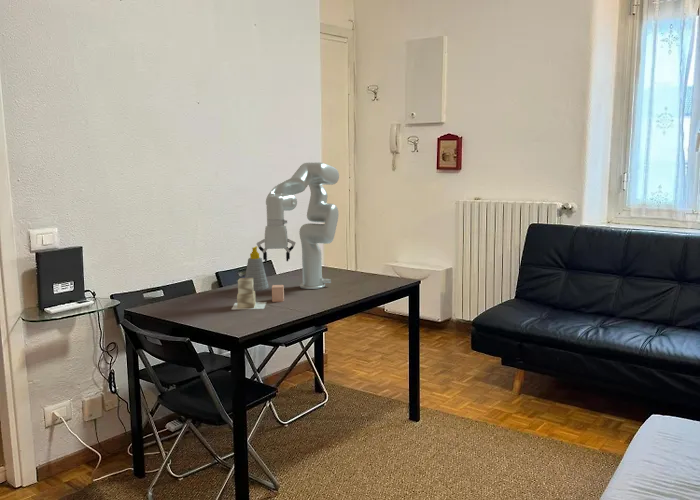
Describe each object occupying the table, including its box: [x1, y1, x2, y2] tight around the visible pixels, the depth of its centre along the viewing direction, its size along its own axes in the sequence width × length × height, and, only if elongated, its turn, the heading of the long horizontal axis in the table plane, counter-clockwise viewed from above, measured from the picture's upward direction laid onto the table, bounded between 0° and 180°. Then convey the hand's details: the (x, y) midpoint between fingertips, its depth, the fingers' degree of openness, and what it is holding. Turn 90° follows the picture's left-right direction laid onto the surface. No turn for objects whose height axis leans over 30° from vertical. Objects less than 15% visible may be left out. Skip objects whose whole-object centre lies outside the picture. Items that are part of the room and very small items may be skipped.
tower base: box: [236, 291, 257, 308], centre depth 279 cm, size 7×7×6 cm
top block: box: [271, 284, 285, 303], centre depth 290 cm, size 5×5×7 cm
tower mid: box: [237, 277, 254, 295], centre depth 279 cm, size 6×6×6 cm
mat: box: [231, 301, 267, 311], centre depth 281 cm, size 14×12×1 cm
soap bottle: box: [244, 245, 269, 292], centre depth 317 cm, size 12×12×20 cm
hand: (276, 261), depth 287 cm, fingers open, 9 cm apart
